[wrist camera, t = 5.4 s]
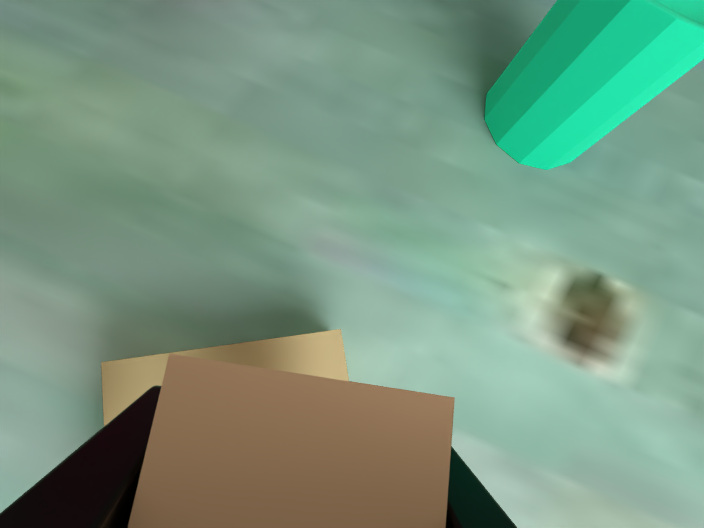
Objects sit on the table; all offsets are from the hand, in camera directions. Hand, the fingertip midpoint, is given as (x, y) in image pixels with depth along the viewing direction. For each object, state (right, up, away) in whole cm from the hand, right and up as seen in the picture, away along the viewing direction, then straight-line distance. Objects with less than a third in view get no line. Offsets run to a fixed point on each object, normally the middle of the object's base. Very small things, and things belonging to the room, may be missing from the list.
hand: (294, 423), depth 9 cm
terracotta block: (-2, -3, +6) cm, 7 cm away
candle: (+11, +11, +20) cm, 25 cm away
